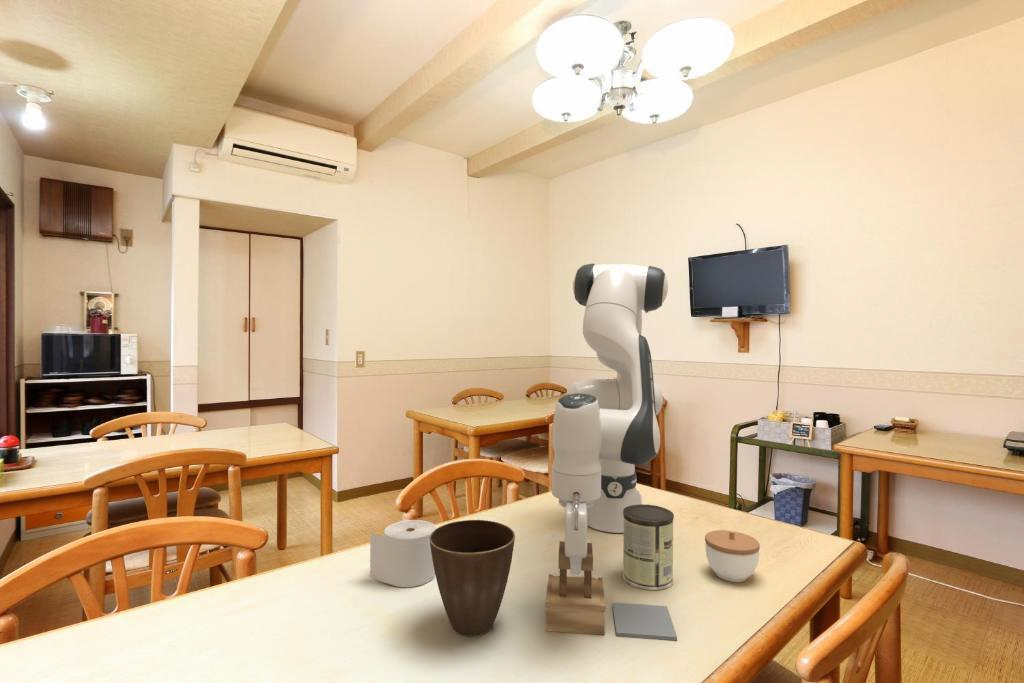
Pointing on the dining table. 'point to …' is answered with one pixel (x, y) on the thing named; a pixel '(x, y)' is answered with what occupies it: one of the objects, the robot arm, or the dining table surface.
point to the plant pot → (472, 571)
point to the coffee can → (648, 547)
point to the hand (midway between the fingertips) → (575, 561)
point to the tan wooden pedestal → (575, 607)
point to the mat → (643, 621)
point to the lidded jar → (732, 554)
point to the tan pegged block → (585, 565)
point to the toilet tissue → (402, 554)
